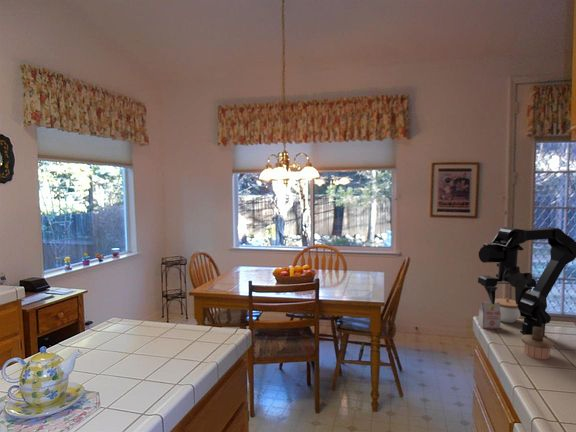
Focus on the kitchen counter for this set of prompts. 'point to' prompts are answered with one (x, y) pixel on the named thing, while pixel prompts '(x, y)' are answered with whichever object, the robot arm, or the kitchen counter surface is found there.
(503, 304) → the lidded jar
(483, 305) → the white red-printed box
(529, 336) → the lid
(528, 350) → the bucket
